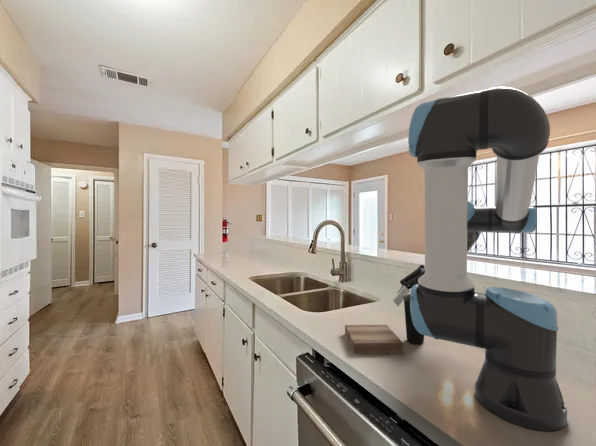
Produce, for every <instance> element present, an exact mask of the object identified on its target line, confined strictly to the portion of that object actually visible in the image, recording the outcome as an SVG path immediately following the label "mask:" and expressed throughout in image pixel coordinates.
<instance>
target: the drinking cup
mask: <svg viewBox="0 0 596 446" xmlns="http://www.w3.org/2000/svg"><path fill="white" fill-rule="evenodd" d="M416 284H417V278H415V285H416ZM403 299H404V300H403V307H404V318H405V319H404V321H405V332H406V341H407V342H408V343H409V344H412V345H415V346H416V345H423V344H424V343H425V342H424V341H425V335H422V334H420V333H419V332H418V331H417V330H416V329H415V327H414V325H413V322H412V318H411V311H410V301H411V299H410V293H408V294H407V295H405V296H403Z"/></svg>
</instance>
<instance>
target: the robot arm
mask: <svg viewBox="0 0 596 446" xmlns="http://www.w3.org/2000/svg"><path fill="white" fill-rule="evenodd" d="M550 135H551V125H550V121H549V118H548V115H547V114H546V111H545V109H544V108H543V106H542V104H540V103H539V102H538V101H537V100H536V99H534V97H533V96H531V95H529V94H528V93H526V92H525V91H522V90H520V89H516V88H514V87H510V86H507V87H506V86H498V87H497V86H495V87H491V88H488V89H483V90H478V91H472V92H467V93H462V94H461V93H460V94H456V95H449V96H444V97H437V98H436V99H434V100H433V99H432V100H430V101H426V102H423V103H419V105H417V106H416V107H415V109H414V110H413V113H412V115H411V119H410V123H409V128H408V136H407V137H408V139H407V140H408V141H407V142H408V150H409V151H408V152H409V155H410V156H411V157H413V158H416V164H417V165H418V167H420V168H421V169H422V170H423V172H424V265H423V264H420V265H419V266H418V268H416V269H415V270H414V271H412V272H410V273H409V274H408V275H406V276H405V277H404V278H402V279H401V280H400V281H399V283H400V284H401V287H400V289H399V290H398V291H397V294H396V295H395V297H393V299H392V302H393V303H394V304H395V305H396V306H397V307H400V305H401V304H402V302H404V299H403V296H405V295H408V294H410V299H411V301H410V311H411V318H412V322H413V325H414V327H415V329H416V330H417V331H418V332H419V333H420V334H422V335H424V337H430V338H433V339H435V340H441V341H447V342H451V343H454V344H455V343H456V344H460V345H465V346H470V347H473V348H479V349H484V351H485V352H484V355H485V356H484V362H483V364H482V366H481V369H480V371H479V373H478V377H477V378H476V380H475V381H474V395H475V397H476V400H477V401H478V402H479V403H480V405H482V406H483V407H484V408H485V409H486V410H488V411H489V412H491V413H492V414H494V415H496V416H497V417H499V418H501V419H503V420H505V421H508V423H509V422H510V423H512V424H515V425H517V426H521V427H523V428H528V429H532V430H536V431H544V432H553V431H559V429H560V430H562V429H564V428H565V427H566V426H567V424H568V408H567V405H566V403H565V402H564V398H563V395H562V392H561V388H560V386H559V382H558V380H557V342H558V338H557V336H558V333H557V332H558V331H559V326H558V317H557V316H558V315H557V314H558V312H557V309H556V307H555V306H554V304H552V303H551V302H549V301H548V300H547V299H544V298H543V297H540V296H537V295H535V294H531V293H528V292H526V291H525V292H524V291H520V290H517V289H512V288H507V287H502V286H501V287H497V286H490V287H487V288H486V290H485V293H484V292H483V293H482V292H478V291H477V292H476V291H475V287H476V286H475V283H474V282H473V281H472V280H471V279H470V278H469V277H468V273H467V272H468V253H469V252H470V250H471V249H472V247H473V246H474V245H475V243H476V242H477V241H478V240H479V238H480V235H481V234H482V232H485V233H487V232H489V233H490V232H491V233H515V234H523V233H529V234H530V233H533V232H535V231H536V230H537V223H538V210H537V208H536V207H535V206H531V202H532V198H533V197H532V196H533V191H534V187H535V180H536V177H537V176H536V174H537V169H538V164H539V159H540V154H542V153H543V152H544V151H545V150H546V148H548V144H549V140H550ZM488 149H491V150H492V152H493V154H494V155H495V156H496V171H495V172H496V175H495V206H475V205H474V204H473V202H471V201H469V200H468V199H469V198H468V197H469V194H468V193H469V192H468V191H469V189H468V187H469V167H470V166H471V165H472V164H473V163H474V162H476V160H477V151H482V150H488ZM415 278H417V284H416V285H415Z"/></svg>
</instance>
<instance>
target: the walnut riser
mask: <svg viewBox="0 0 596 446" xmlns="http://www.w3.org/2000/svg"><path fill="white" fill-rule="evenodd" d="M344 336H345V337H346V339H347V341H348V343H349V346H350V348H351V349H352V352H353V354H357V355H359V354H365V355H366V354H368V355H370V354H373V355H374V354H378V355H379V354H404V342H403V341H402V339H400V338H399V336H398V335H396V333H395V332H394V331H393V330H392V329H391V327H390V326H388V325H387V324H344Z"/></svg>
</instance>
